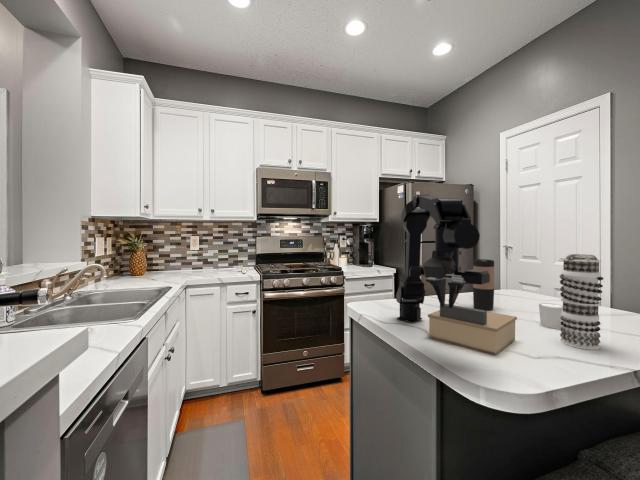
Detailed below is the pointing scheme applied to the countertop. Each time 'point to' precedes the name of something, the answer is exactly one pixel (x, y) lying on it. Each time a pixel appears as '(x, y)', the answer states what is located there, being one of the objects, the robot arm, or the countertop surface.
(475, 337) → the carton
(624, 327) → the countertop surface
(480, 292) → the travel mug
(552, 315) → the shot glass
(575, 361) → the countertop surface
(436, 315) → the carton lid
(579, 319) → the decorative candle
